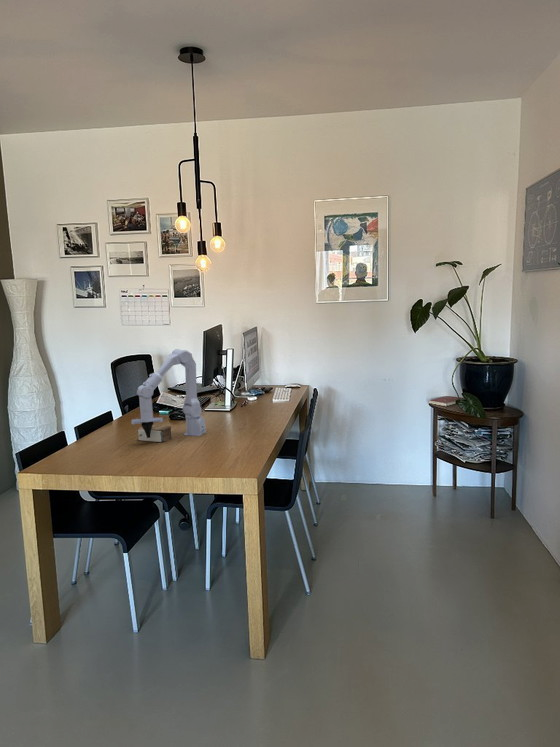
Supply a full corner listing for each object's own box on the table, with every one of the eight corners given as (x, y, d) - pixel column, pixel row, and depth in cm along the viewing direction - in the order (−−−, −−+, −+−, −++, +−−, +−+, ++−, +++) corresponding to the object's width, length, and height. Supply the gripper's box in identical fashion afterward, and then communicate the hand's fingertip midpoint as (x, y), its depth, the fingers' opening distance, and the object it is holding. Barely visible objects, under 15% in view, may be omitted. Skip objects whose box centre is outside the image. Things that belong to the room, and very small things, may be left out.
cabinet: (172, 437, 261) (171, 426, 260) (164, 441, 255) (163, 429, 254) (147, 436, 266) (146, 424, 265) (139, 440, 260) (138, 428, 259)
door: (163, 441, 254) (162, 431, 254) (161, 442, 253) (160, 432, 252) (140, 439, 260) (139, 429, 259) (137, 440, 258) (136, 430, 257)
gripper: (162, 407, 256) (164, 434, 258) (132, 409, 254) (134, 436, 256) (161, 410, 249) (163, 437, 251) (129, 412, 247) (132, 440, 249)
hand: (148, 437), depth 253 cm, fingers closed
